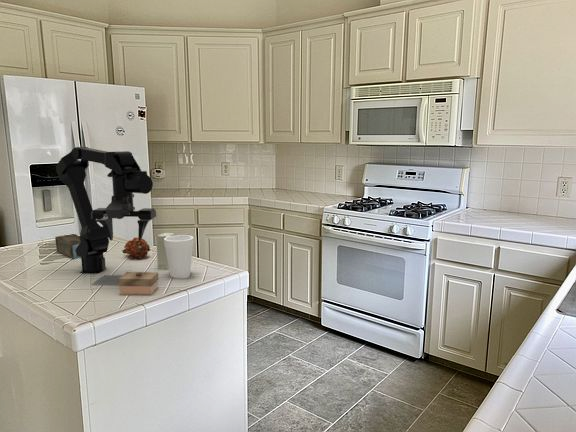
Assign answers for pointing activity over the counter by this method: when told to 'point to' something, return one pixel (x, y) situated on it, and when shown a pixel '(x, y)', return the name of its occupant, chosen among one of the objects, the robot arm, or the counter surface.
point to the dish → (138, 289)
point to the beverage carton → (68, 245)
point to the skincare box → (162, 251)
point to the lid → (138, 279)
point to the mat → (108, 280)
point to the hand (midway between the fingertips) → (125, 240)
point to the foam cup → (179, 255)
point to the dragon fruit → (136, 248)
